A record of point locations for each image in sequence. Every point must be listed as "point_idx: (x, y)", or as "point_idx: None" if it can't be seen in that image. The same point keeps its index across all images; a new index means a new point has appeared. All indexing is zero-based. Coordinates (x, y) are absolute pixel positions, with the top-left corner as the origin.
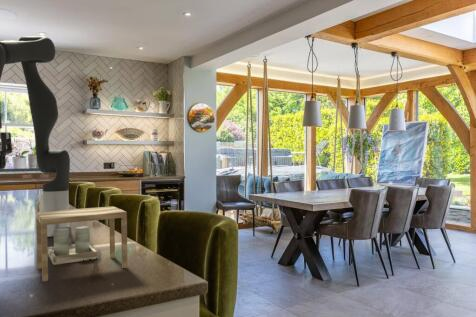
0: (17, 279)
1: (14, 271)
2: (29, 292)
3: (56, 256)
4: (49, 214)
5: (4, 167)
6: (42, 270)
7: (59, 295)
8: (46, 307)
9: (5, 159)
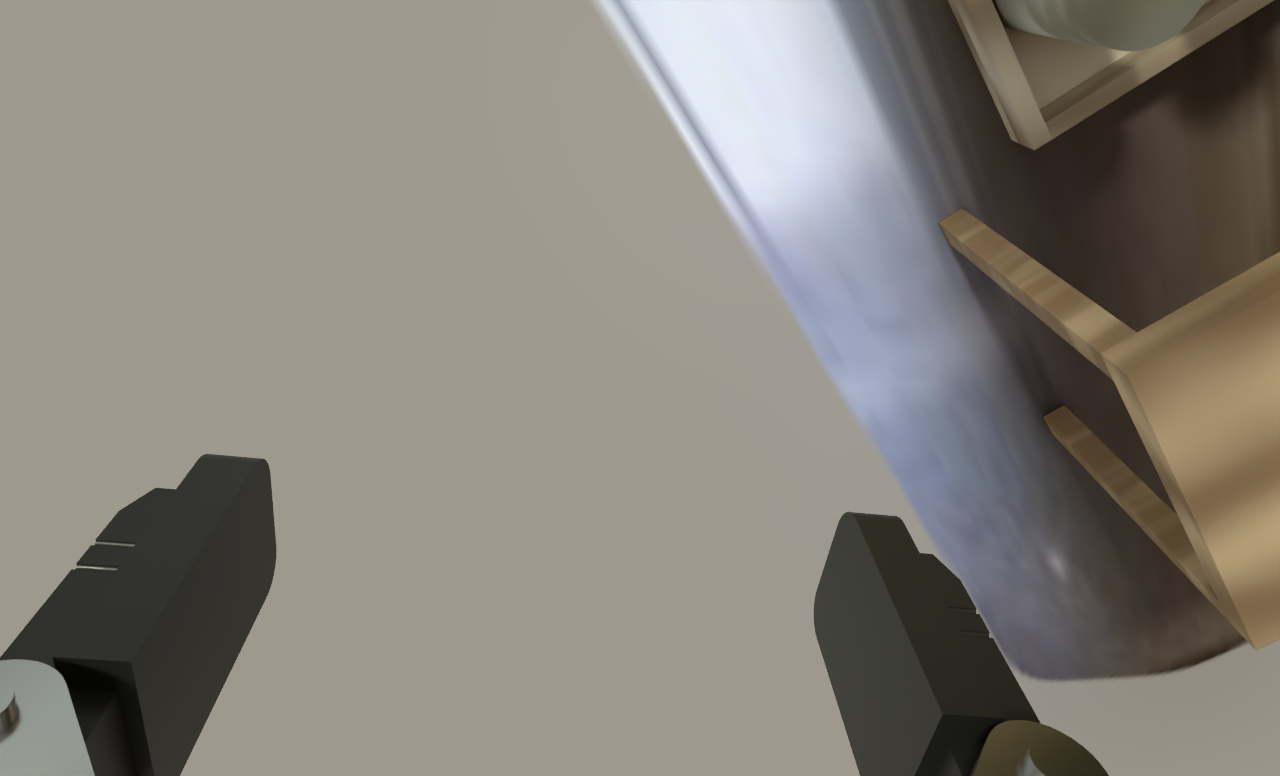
0: (914, 403)
1: (832, 283)
2: (1037, 541)
3: (1051, 131)
4: (1273, 480)
5: (899, 524)
6: (1078, 461)
7: (1163, 560)
8: (1143, 647)
9: (1009, 671)
